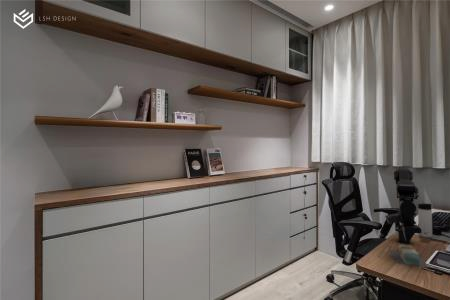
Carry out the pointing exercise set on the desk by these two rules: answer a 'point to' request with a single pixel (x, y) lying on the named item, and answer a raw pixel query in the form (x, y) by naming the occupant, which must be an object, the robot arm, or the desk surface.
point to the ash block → (409, 255)
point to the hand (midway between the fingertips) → (407, 242)
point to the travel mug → (425, 220)
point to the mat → (399, 260)
